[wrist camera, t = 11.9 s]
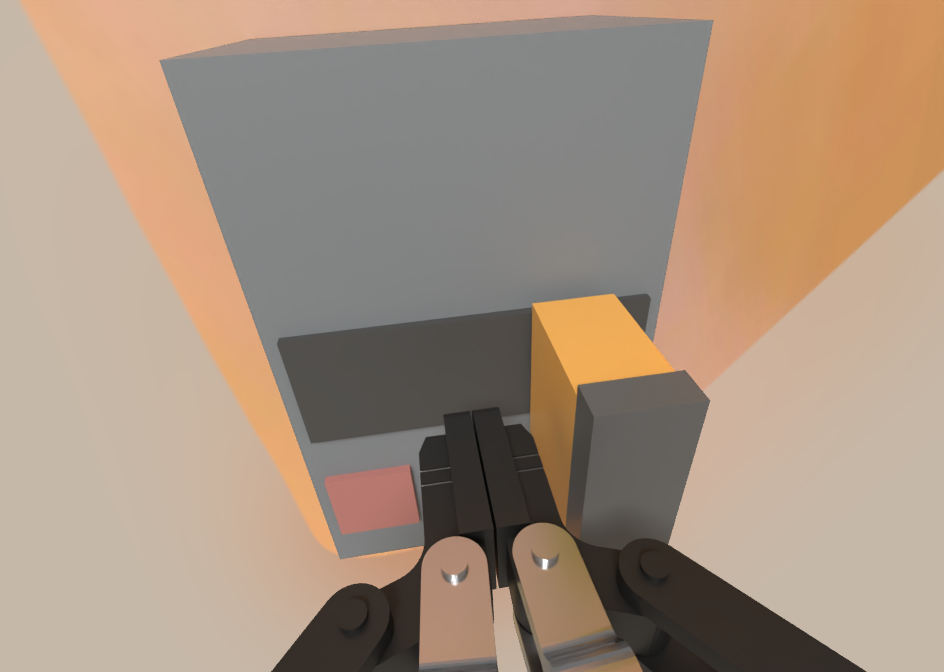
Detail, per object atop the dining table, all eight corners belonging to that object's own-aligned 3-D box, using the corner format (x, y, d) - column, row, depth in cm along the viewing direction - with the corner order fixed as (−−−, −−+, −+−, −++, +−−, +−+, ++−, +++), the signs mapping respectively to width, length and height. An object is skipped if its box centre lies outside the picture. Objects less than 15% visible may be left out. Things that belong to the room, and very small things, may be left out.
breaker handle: (614, 284, 14) (709, 400, 10) (597, 426, 17) (663, 559, 13) (532, 294, 14) (593, 417, 10) (530, 436, 17) (575, 574, 13)
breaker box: (592, 15, 18) (720, 20, 11) (565, 394, 28) (623, 520, 21) (250, 39, 17) (153, 62, 10) (352, 423, 27) (339, 565, 20)
